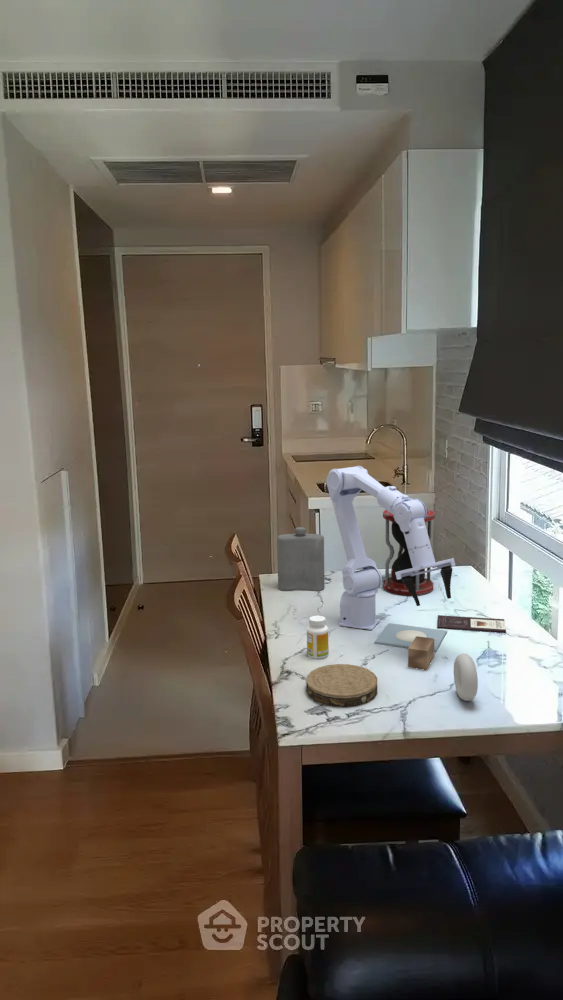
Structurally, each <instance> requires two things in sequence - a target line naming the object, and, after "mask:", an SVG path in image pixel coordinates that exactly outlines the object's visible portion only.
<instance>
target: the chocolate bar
mask: <svg viewBox="0 0 563 1000" xmlns="http://www.w3.org/2000/svg"><path fill="white" fill-rule="evenodd" d="M436 622H437V623H436V629H438V630H452V631H453V630H454V631H468V632H480V631H482V632H483V633H495V632H497V634H498V633H499V634H506V633H507V629H506V621H505V619H504V618H492V617H491V618H489V617H476V616H475V617H474V616H460V615H458V616H456V615H441V614H439V615H437V621H436Z"/></svg>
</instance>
